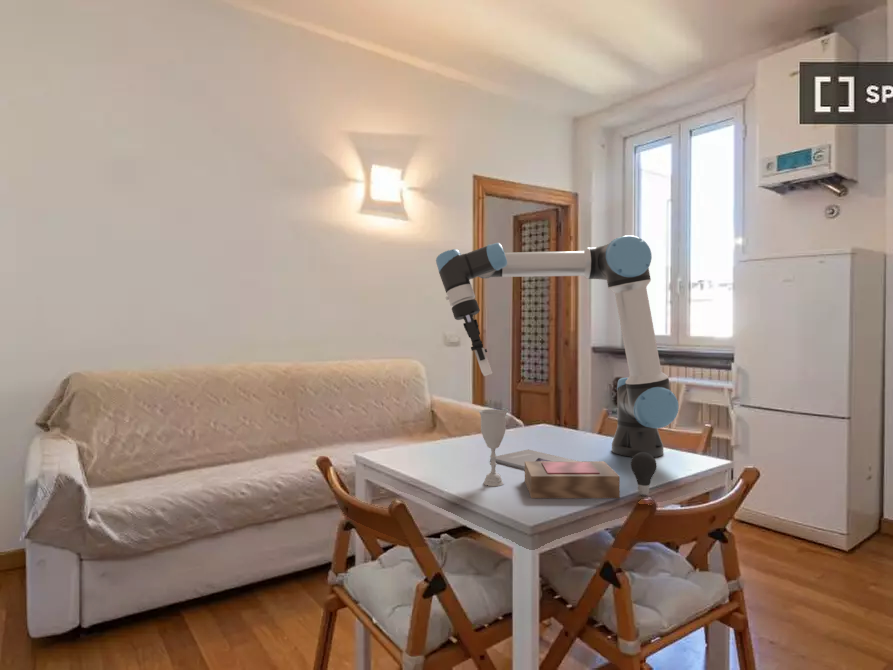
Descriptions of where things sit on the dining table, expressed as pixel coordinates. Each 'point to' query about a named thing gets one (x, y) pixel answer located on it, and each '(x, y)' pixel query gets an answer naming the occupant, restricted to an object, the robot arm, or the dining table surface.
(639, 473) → the light bulb
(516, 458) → the play button award
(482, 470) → the dining table surface
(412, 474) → the dining table surface
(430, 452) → the dining table surface
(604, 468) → the display stand
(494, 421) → the chalice
